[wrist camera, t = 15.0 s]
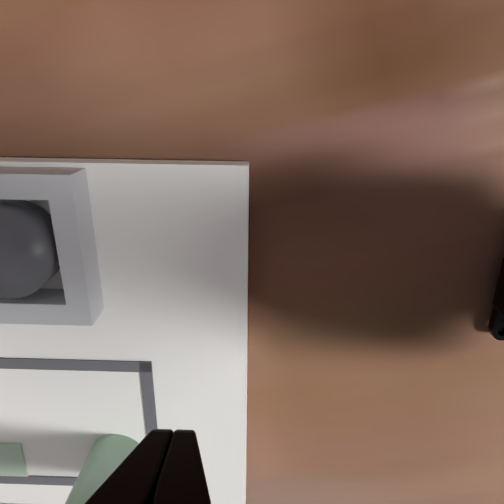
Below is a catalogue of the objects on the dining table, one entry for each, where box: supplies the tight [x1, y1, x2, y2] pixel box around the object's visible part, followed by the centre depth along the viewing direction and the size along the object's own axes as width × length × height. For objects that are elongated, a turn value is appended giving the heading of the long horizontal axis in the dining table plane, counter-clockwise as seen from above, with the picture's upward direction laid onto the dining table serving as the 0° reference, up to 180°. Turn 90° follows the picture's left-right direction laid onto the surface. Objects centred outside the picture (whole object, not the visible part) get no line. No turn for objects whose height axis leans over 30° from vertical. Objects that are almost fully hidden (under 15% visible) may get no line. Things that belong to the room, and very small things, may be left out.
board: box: [0, 157, 249, 504], centre depth 21 cm, size 20×20×2 cm
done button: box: [0, 199, 60, 299], centre depth 18 cm, size 4×4×2 cm
